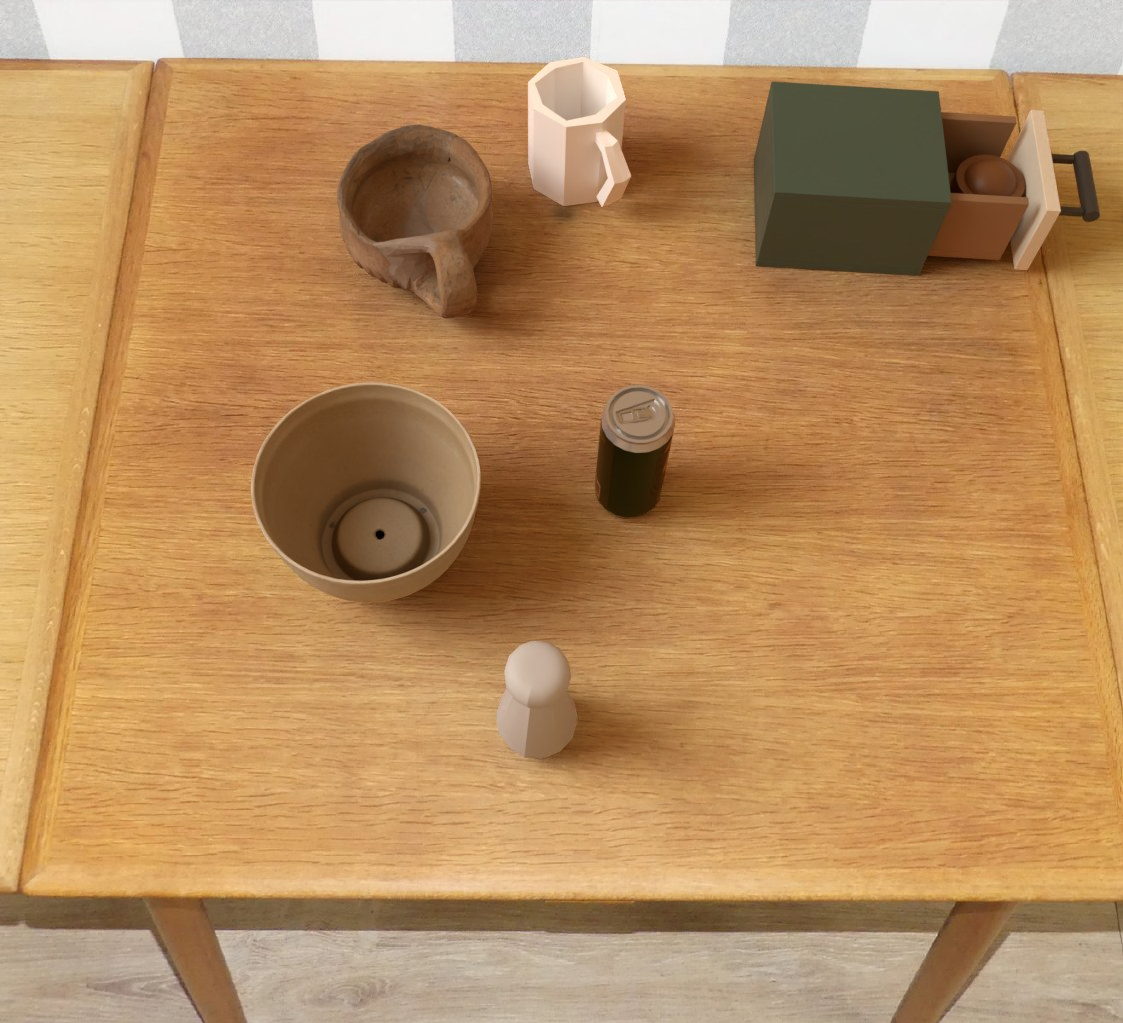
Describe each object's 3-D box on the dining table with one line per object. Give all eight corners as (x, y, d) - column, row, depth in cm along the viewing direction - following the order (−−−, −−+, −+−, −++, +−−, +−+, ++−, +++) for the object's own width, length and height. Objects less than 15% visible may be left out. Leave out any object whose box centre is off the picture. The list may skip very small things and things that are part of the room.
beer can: (603, 528, 97) (612, 452, 86) (587, 470, 99) (593, 389, 89) (668, 514, 98) (685, 438, 87) (650, 457, 100) (665, 376, 89)
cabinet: (908, 169, 115) (939, 91, 106) (919, 276, 109) (952, 202, 101) (753, 159, 115) (771, 81, 106) (755, 266, 109) (774, 192, 101)
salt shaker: (481, 717, 90) (474, 655, 78) (545, 675, 91) (548, 608, 80) (526, 782, 87) (526, 728, 76) (591, 738, 89) (600, 678, 77)
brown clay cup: (569, 274, 107) (544, 214, 97) (442, 373, 106) (405, 323, 97) (455, 146, 113) (422, 78, 103) (335, 239, 112) (290, 180, 103)
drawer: (1063, 176, 114) (1098, 113, 107) (1080, 273, 108) (1118, 214, 102) (868, 164, 114) (889, 101, 107) (875, 261, 109) (898, 201, 102)
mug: (511, 161, 114) (509, 80, 105) (588, 125, 116) (592, 43, 108) (581, 247, 110) (585, 170, 101) (659, 208, 112) (670, 129, 103)
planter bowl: (298, 664, 91) (271, 607, 81) (263, 480, 98) (234, 408, 88) (507, 612, 93) (505, 551, 84) (459, 436, 100) (451, 361, 91)
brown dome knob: (1006, 186, 112) (1026, 144, 107) (1013, 237, 109) (1035, 197, 104) (940, 182, 112) (958, 140, 107) (946, 233, 109) (964, 193, 104)
